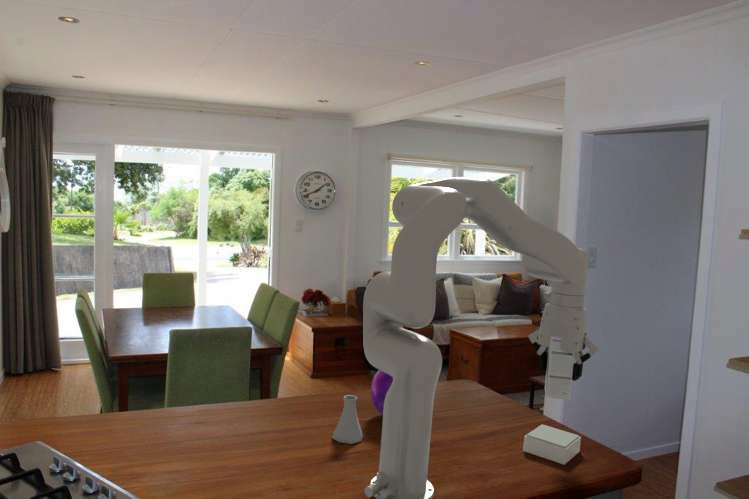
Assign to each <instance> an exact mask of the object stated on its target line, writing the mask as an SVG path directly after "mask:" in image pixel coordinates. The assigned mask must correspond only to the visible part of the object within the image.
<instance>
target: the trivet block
mask: <svg viewBox="0 0 749 499" xmlns="http://www.w3.org/2000/svg"><path fill="white" fill-rule="evenodd" d="M581 440H582V436H580V435H578V434H575V433H572V432H570V431H569V432H568V431H565V430H562V429H559V428H556V427H552V426H549V425H545V424H543V423H542V424H540V425H538V426H537V427H536V428H535V429H533V430H531V431H530V432H528V433H527V434H525V435H524V438H523V444H522V445H523V447H522V451H523V452H525V453H527V454H532V455H534V456H537V457H540V458H543V459H546V460H550V461H553V462H555V463H558V464H561V465H563V466H564V465H566V464H568V462H570V460H572V459H573V458H574V457H575V456H576V455H578V454H579V452H580V451H581Z"/></svg>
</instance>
